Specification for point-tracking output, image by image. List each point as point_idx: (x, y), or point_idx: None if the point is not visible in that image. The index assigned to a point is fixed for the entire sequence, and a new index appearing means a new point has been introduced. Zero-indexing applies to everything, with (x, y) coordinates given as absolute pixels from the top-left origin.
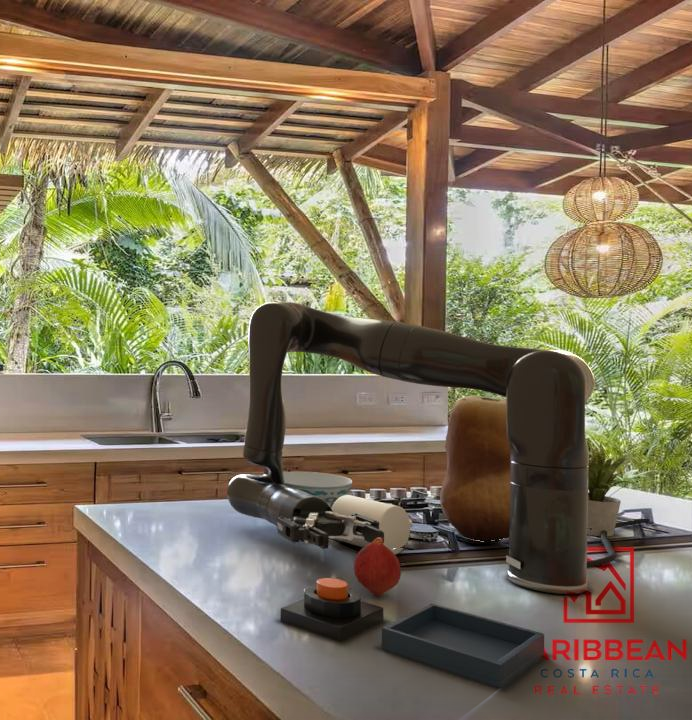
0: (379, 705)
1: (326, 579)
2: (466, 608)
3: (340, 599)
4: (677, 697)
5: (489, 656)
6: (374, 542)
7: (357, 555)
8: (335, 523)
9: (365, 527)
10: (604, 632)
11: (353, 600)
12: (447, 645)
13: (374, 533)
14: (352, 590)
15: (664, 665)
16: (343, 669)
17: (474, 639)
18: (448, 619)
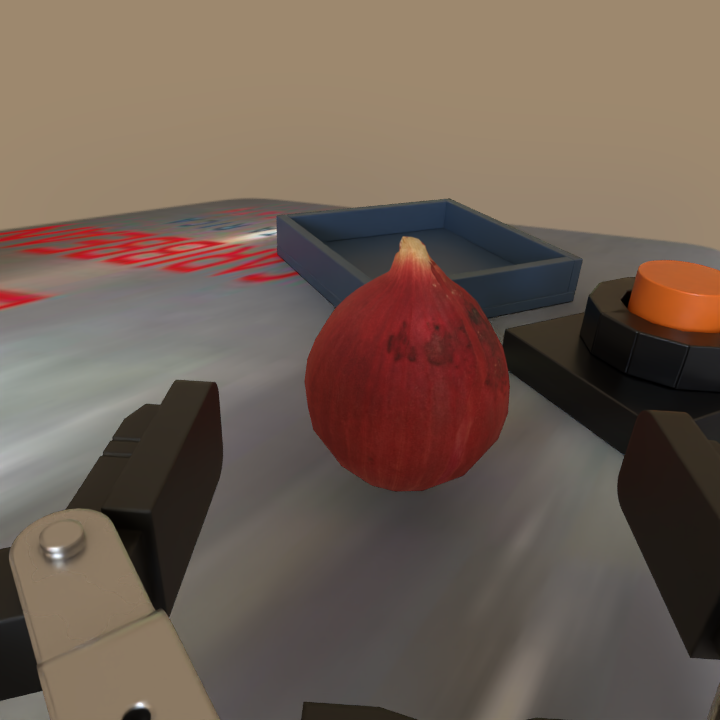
0: (643, 241)
1: (704, 289)
2: (181, 370)
3: None
4: (231, 203)
5: (396, 249)
6: (436, 265)
7: (495, 363)
8: (391, 716)
9: (162, 508)
10: (40, 269)
11: (625, 279)
12: (443, 271)
13: (204, 432)
14: (604, 308)
15: (128, 223)
16: None
17: (367, 273)
18: None
